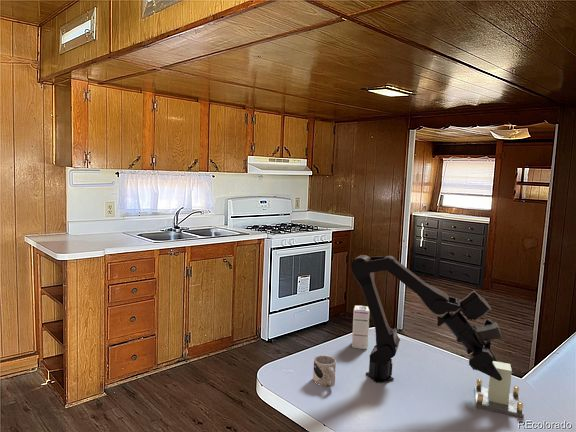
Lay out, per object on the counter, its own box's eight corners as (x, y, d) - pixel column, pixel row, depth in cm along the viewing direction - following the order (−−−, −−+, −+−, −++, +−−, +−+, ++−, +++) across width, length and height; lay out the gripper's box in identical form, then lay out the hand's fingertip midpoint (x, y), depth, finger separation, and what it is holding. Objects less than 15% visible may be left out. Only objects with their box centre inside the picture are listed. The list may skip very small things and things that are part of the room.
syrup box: (367, 349, 162) (370, 310, 161) (351, 347, 164) (353, 309, 162) (368, 343, 168) (370, 306, 167) (352, 341, 169) (354, 304, 168)
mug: (309, 377, 139) (310, 356, 138) (329, 374, 141) (330, 354, 141) (322, 392, 130) (324, 370, 129) (343, 389, 132) (344, 368, 131)
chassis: (523, 417, 121) (524, 405, 120) (475, 407, 125) (476, 395, 125) (518, 397, 132) (519, 386, 132) (474, 388, 136) (475, 377, 136)
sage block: (488, 400, 127) (492, 367, 126) (488, 393, 132) (491, 360, 131) (508, 405, 125) (511, 370, 124) (506, 396, 130) (510, 363, 129)
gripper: (486, 323, 119) (528, 371, 116) (483, 304, 136) (520, 346, 134) (452, 346, 123) (492, 393, 120) (454, 325, 140) (489, 366, 137)
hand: (499, 373), depth 128 cm, fingers open, 9 cm apart
